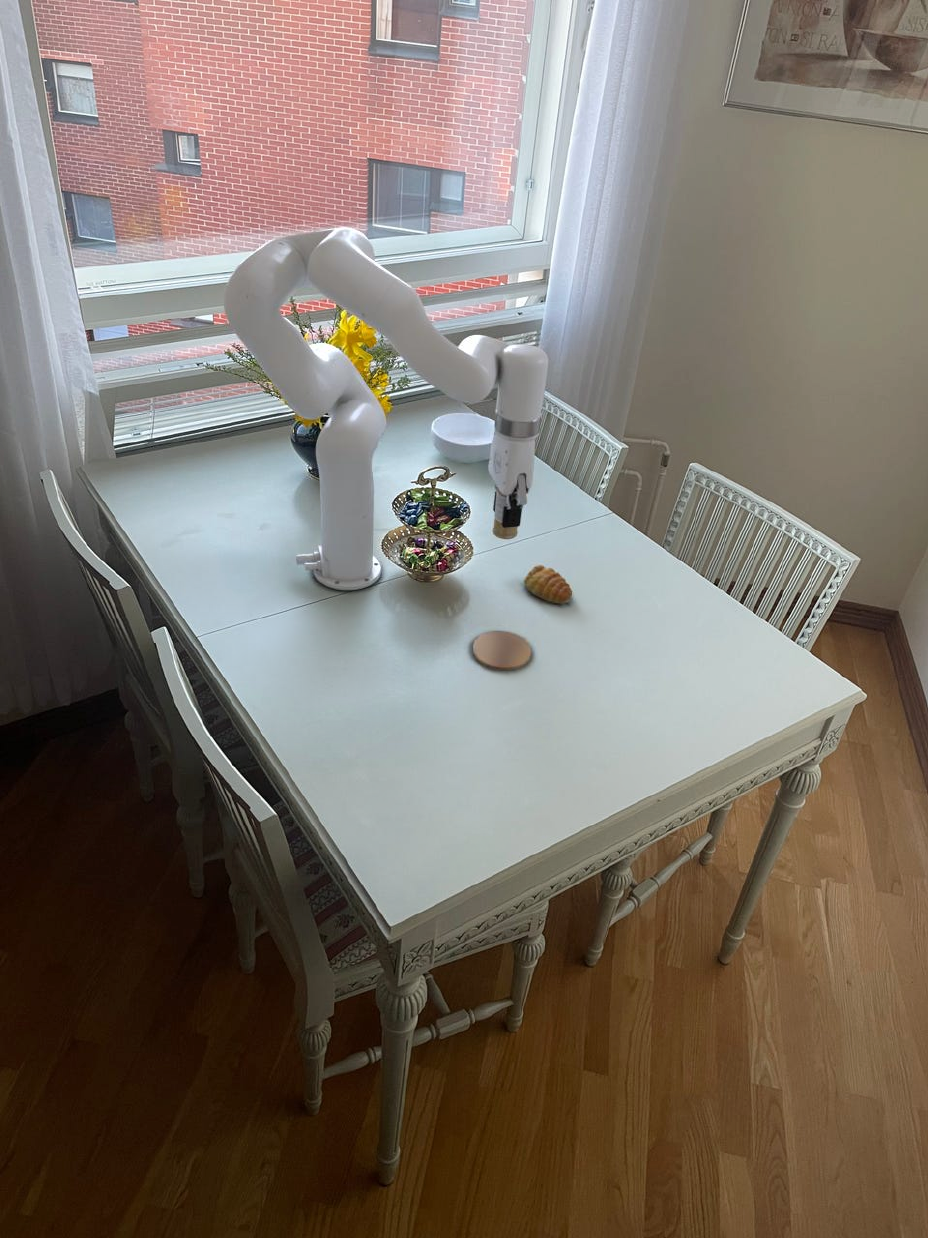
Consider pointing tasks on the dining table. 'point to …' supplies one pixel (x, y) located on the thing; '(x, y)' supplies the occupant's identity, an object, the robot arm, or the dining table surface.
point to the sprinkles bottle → (498, 529)
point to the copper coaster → (501, 650)
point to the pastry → (548, 585)
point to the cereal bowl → (463, 437)
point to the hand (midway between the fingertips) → (506, 517)
